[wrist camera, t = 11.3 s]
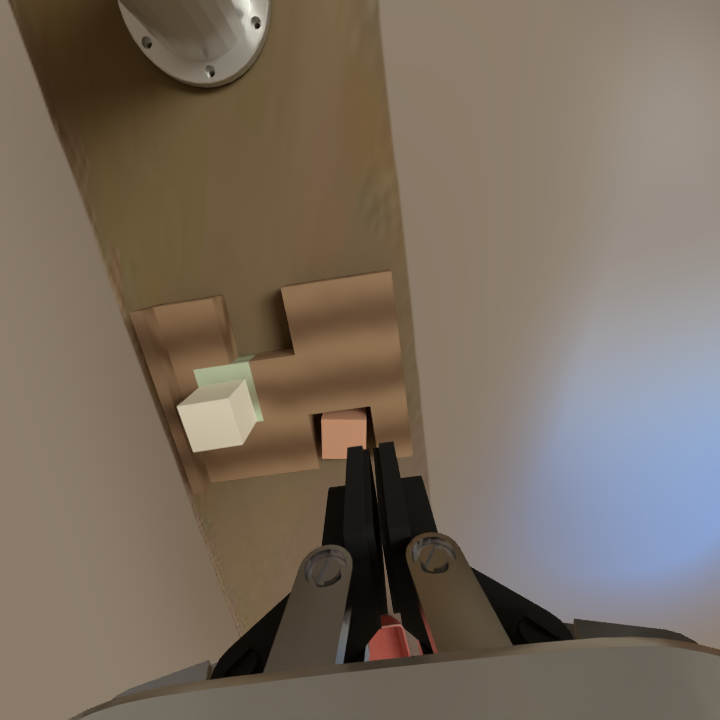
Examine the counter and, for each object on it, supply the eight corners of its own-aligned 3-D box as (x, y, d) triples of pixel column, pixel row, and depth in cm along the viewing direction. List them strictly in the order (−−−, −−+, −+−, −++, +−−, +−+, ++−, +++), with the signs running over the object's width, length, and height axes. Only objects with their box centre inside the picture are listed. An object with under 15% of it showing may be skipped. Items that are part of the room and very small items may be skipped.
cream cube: (199, 386, 37) (176, 406, 32) (245, 379, 37) (228, 398, 32) (213, 427, 38) (193, 452, 34) (257, 420, 38) (242, 444, 33)
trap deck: (158, 304, 37) (129, 312, 32) (388, 269, 36) (393, 272, 31) (211, 468, 43) (193, 495, 39) (409, 442, 43) (415, 466, 38)
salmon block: (324, 405, 41) (321, 419, 38) (365, 406, 41) (366, 419, 38) (325, 442, 43) (322, 458, 39) (365, 442, 43) (365, 458, 39)
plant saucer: (313, 696, 57) (311, 722, 54) (283, 620, 52) (278, 644, 49) (419, 680, 56) (423, 705, 53) (400, 600, 51) (402, 623, 48)
